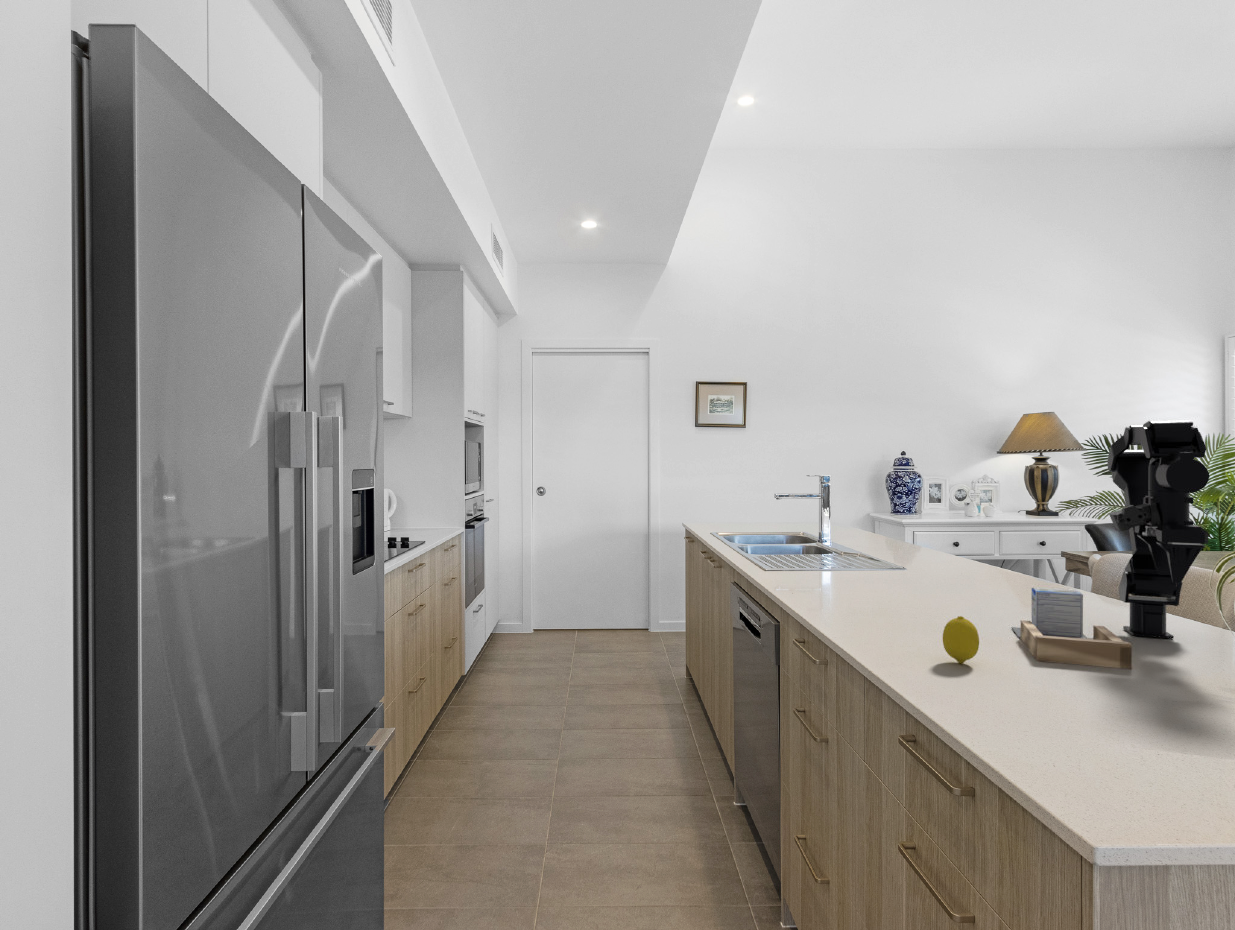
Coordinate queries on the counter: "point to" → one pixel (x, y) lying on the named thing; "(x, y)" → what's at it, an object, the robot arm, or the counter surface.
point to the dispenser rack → (1078, 647)
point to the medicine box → (1057, 611)
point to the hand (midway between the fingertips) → (1168, 578)
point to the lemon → (960, 639)
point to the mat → (1018, 632)
